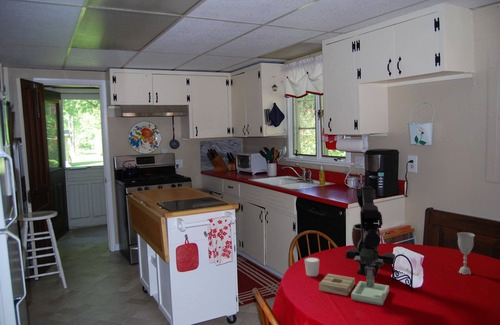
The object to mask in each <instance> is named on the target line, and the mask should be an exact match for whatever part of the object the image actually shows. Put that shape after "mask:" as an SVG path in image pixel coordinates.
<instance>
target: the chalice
mask: <svg viewBox="0 0 500 325" xmlns="http://www.w3.org/2000/svg"><path fill="white" fill-rule="evenodd" d="M456 235H457V245H458V248H459V250H460V252H461V254H463V261H462V262H463V266H461V267H460V269H459V271H458V273H459V274H461V273H462V275H466V274H469V275H471V274H472V272H471V270H470V268H469V267H468V266H467V263H468V261H467V260H468V257H467V256H468V255H469V254H470V253H471V251H472V249H473V247H474V238H475V236H476V235H475V234H474V233H473V232H464V231H463V232H462V231H461V232H457V233H456Z"/></svg>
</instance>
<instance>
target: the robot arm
mask: <svg viewBox="0 0 500 325" xmlns="http://www.w3.org/2000/svg"><path fill="white" fill-rule="evenodd" d="M375 199H376V189H374V188H373V187H372V186H361V187H360V188H357V189H355V200H356V202H357V204H358V206H359V208H360V212H359V221H360V224H361V239H360V241H359V242H358V248H351V247H349V249H348V250H346V252H345V258H346V259H348V260H354V258H355V256H356V260H354V261H355V262H357V263H358V265H359V266H358V270H357V272H356V273H357V274H358V275H359V274H360V275H364V277H367V273H366V268H365V263H373V261H375V260H377V262H375V263H374V264H375V265H376V267H375V269H374V279H375V278H377V277H378V276H377V275H378V273H379V271H380V268H381V266H384V264H385V265H390V266H391V265H392V266H393V265H394V264H395V262H396V254H394V253H391V252H385V253H384V254H379V246H380V243H381V240H382V239H381V235H380V236H379V234H378V228H379V229H382V226H383V216H382V212H381V211H379V207H378V206H377V205H375V203H374V200H375ZM378 245H379V246H378Z"/></svg>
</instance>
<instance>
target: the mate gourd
mask: <svg viewBox="0 0 500 325" xmlns="http://www.w3.org/2000/svg"><path fill="white" fill-rule="evenodd" d="M378 234H379V236H380V237H381V232H380V228H378ZM360 239H361V223H355V224H353V225H352V231H351V241H352V244H353V247H354V249H356V248H358V242H359V241H360ZM379 246H380V244H379V245H378V247H379ZM353 260H354V261H355V260H356V256H355V258H354V259H353ZM376 262H377V260H375V261H373V263H374V264H375V263H376Z"/></svg>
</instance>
